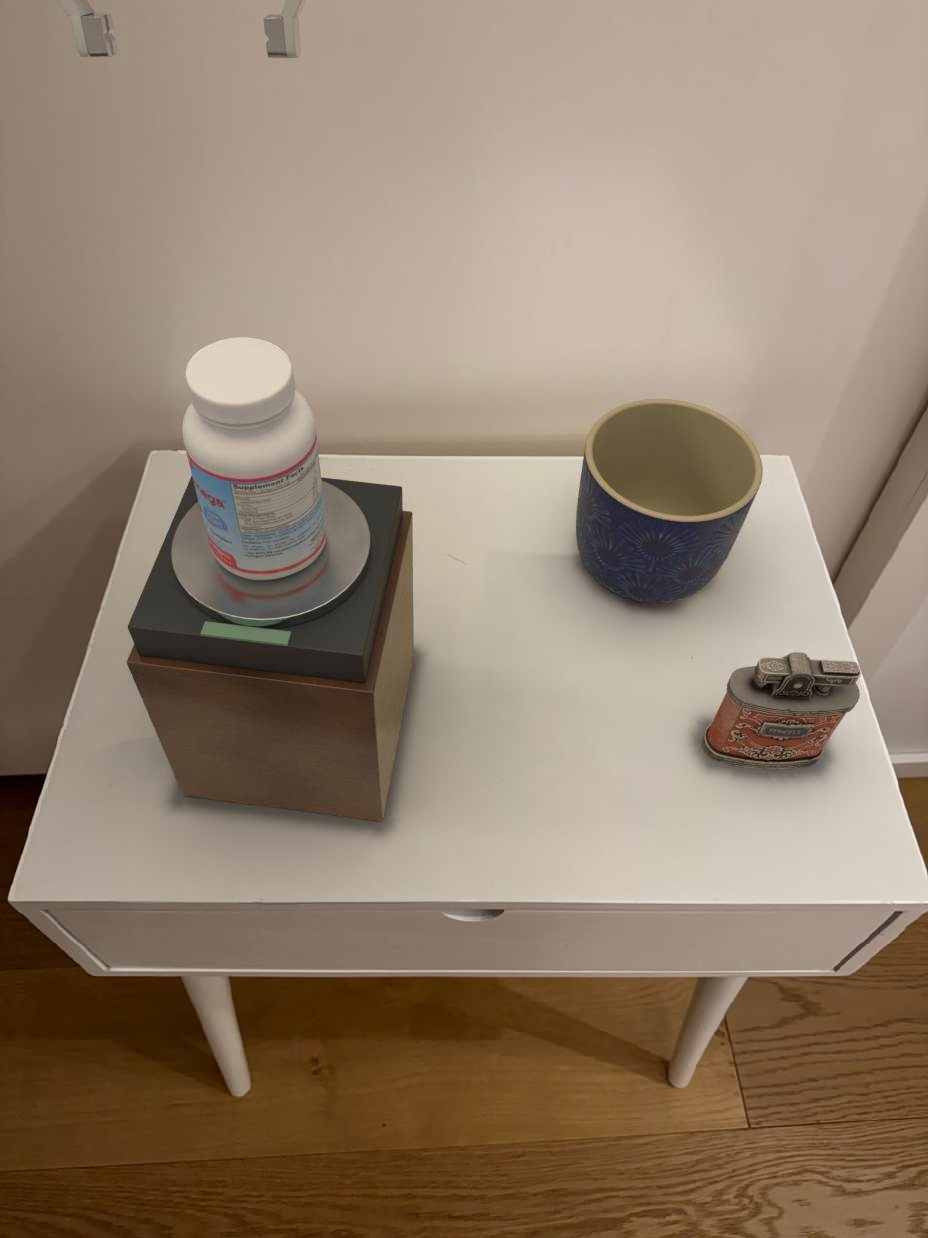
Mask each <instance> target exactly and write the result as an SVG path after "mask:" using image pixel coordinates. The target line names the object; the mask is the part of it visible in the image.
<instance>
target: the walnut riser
mask: <svg viewBox="0 0 928 1238" xmlns="http://www.w3.org/2000/svg"><path fill="white" fill-rule="evenodd" d="M413 514H414V513H413V511H408V510H403V518H402V522H401V527H400V531H399V536H398V540H397V545H396V549H395V554H394V558H393V563H392V567H391V572H390V576H389V581H388V585H387V590H386V594H385V599H384V603H383V608H382V612H381V617H380V621H379V626H378V630H377V635H376V639H375V644H374V648H373V653H372V657H371V662H370V666H369V671H368V675H367V680H366V682H365V683H360V682H352V681H344V680H336V679H328V678H320V677H311V676H303V675H295V674H287V673H279V672H271V671H263V670H254V669H246V668H238V667H230V666H222V665H214V664H206V663H197V662H189V661H181V660H173V659H165V658H157V657H149V656H140V655H138V652H137V650H136V647H135V645H134V644H133V646H132V647H131V650H130V652H129V655H128V657H127V660H126V665H127V667H128V670H129V672H130V674H131V677H132V679H133V681H134V684H135V687H136V689H137V691H138V693H139V697H140V698H141V701H142V703H143V705H144V707H145V710H146V713H147V715H148V717H149V719H150V722H151V724H152V726H153V729H154V730H155V733H156V736H157V738H158V741H159V743H160V745H161V747H162V750H163V752H164V754H165V756H166V759H167V761H168V763H169V767H170V768H171V771H172V773H173V776H174V778H175V780H176V782H177V785H178V787H179V790H180V792H181V794H182V796H183V797H188V798H189V797H191V798H198V799H207V800H214V801H222V802H228V803H236V804H245V805H252V806H261V807H268V808H274V809H275V808H276V809H284V810H291V811H299V812H307V813H312V814H313V813H314V814H322V815H329V816H335V817H336V816H337V817H345V818H351V819H352V818H353V819H361V820H368V821H376V822H383V821H384V816H385V811H386V807H387V801H388V796H389V790H390V785H391V779H392V774H393V769H394V764H395V759H396V753H397V748H398V743H399V737H400V732H401V726H402V721H403V716H404V710H405V707H406V706H405V705H406V700H407V695H408V690H409V686H410V685H409V684H410V680H411V674H412V670H413V669H412V668H413V664H414V657H415V645H414V643H415V639H414V638H415V637H414V634H415V633H414V632H415V631H414V629H415V628H414V544H413V543H414V533H413V532H414V531H413V530H414V528H413V525H414V523H413V521H414V520H413V519H414V517H413Z"/></svg>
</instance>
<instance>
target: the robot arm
mask: <svg viewBox="0 0 928 1238" xmlns="http://www.w3.org/2000/svg"><path fill="white" fill-rule="evenodd" d="M56 2H57V3H58V4H59V6H60V7H61V8H62V10H63V12H65V14H66V15H67V16H68V17H70V21H71V25H72V30H73V34H74V35H73V36H74V40H75V44H76V49H77V52H78V54H79V56H80V57H81V58H111V57H112V56H116V55H117V54H118V45H117V39H116V38H115V37H114V35H113V32H114V24H113V18H112V13H99V12H97V13H96V12H95V10H94V9H93V7H92V5H91V4H90V3H89V1H88V0H56ZM306 2H307V0H285V1H284V4H283V6H282V9H281V12H280V14H279V13H278V14H277V13H275V14H267V15H266V16H264V17H263V27H264V34H265V35H266V38H268V39H267V40H266V43H265V47H266V54H267V57H268V58H269V59H298V58H299V57H301V53H302V52H301V51H302V46H301V33H300V23H299V16H300V15H301V14H302V11H303V9H304V6H305V4H306Z"/></svg>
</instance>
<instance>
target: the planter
mask: <svg viewBox="0 0 928 1238" xmlns="http://www.w3.org/2000/svg"><path fill="white" fill-rule="evenodd" d="M583 451H584V452H583V458H582V465H581V472H580V479H579V487H578V494H577V503H576V511H575V512H576V514H575V517H576V518H575V537H576V538H575V539H576V543H577V544H576V545H577V549H578V554H579V555H580V558H581V560H582V562H583V565H584V566H585V568H586V569H587V571H588V572H589V573H590V574H591V576H592V577H593V578H594V579H595V580H596V581H597V582H599V583H600V584H601V585H602V586H604V587H605V588H606V589H607V590H610V591H611V592H613V593H615V594H617V595H618V596H621V597H623V598H626V599H629V600H632V601H635V602H640V603H641V602H642V603H648V604H663V603H664V604H666V603H671V602H672V603H673V602H677V601H680V600H683V599H686V598H688V597H690V596H692V595H695V594H696V593H698V592H699V591H701V590H702V589H704V588H705V587H706V586H707V585H708V584H709V583H710V582H711V581H712V580H713V579H714V578H715V577H716V575H717V574H718V572H719V571H720V570H721V568H722V567H723V565H724V564H725V562H726V560H727V558H728V556H729V554H730V552H732V548H733V547H734V545H735V543H736V540H737V539H738V537H739V534H740V532H741V530H742V527H743V526H744V524H745V522H746V519H747V517H748V514H749V513H750V510H751V508H752V506H753V503H754V501H755V498H756V496H757V494H758V491H759V489H760V487H761V485H762V480H763V475H764V474H763V473H764V470H763V469H764V467H763V462H762V458H761V455H760V452H759V451H758V448H757V447H756V444H755V443H754V441H753V440H752V439H751V437H750V436H749V435H748V434H747V432H746V431H744V430H743V429H742V428H741V427H740V426H739V425H737V424H736V423H735V422H733V421H732V420H731V419H729V418H728V417H726V416H724V415H723V414H721V413H719V412H717V411H715V410H713V409H710V408H708V407H705V406H704V405H701V404H697V403H694V402H689V401H684V400H679V399H670V398H647V399H639V400H634V401H630V402H627V403H624V404H621V405H619V406H616V407H615V408H612V409H610V410H609V411H607V412H606V413H605V414H603V415H601V416H600V418H598V419H597V421H596V422H594V424H593V425H592V427H591V428H590V430H589V432H588V434H587V436H586V439H585V445H584V450H583Z"/></svg>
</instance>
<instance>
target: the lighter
mask: <svg viewBox="0 0 928 1238" xmlns="http://www.w3.org/2000/svg"><path fill="white" fill-rule="evenodd" d="M861 675H862V671H861V667H860V665H859V664H858V663H857V662H856V661H853V660H852V661H851V660H831V659H815V658H814V659H812V658H810V657H809V656H808V655H807V653H805V652H800V651H799V652H797V651H795V652H791V653H788V654H787V655H784V656H782V657H770V656H769V657H766V656H764V657H761V658H759V659H758V662H757V663H756V665H753V666H752V665H751V666H742V667H739V668H736V669H735V670H733V672H731V675H730V677H729V679H728V682H727V684H726V692H725V694H724V697H723V699H722V701H721V703H720V705H719V707H718V710H717V711H716V713H715V716H714V718H713V720H712V722H711V723H710V724H709V725H708V726H707V727H706V728H705V731H704V733H703V735H702V738H701V747H702V750H703V753H705V755H706V756H707V757H708V758H709V759H710V760H711V761H714V762H716V763H721V764H725V765H729V766H734V767H739V768H747V769H757V770H789V769H790V770H791V769H797V768H806V767H812V766H814V765H815V764H816V763H817V762H818V761H819V760H820V759H821V757H822V756H823V753H824V749H825V746H826V744H827V743H828V741H829V740H830V739H831V737H832V735H833V734H834V732H835V730H837V727H838V726H839V725H840V723H841V722H842V720H843V719H844V717H845V716H846V714H848V713H850V712H851V711H852V710H853V709H854V708H855V707H856V705H857V704H858V702H859V700H860V696H861V694H860V693H861V692H860V688H859V686H858V683H857V682H858V681H859V678H860V677H861Z"/></svg>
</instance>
